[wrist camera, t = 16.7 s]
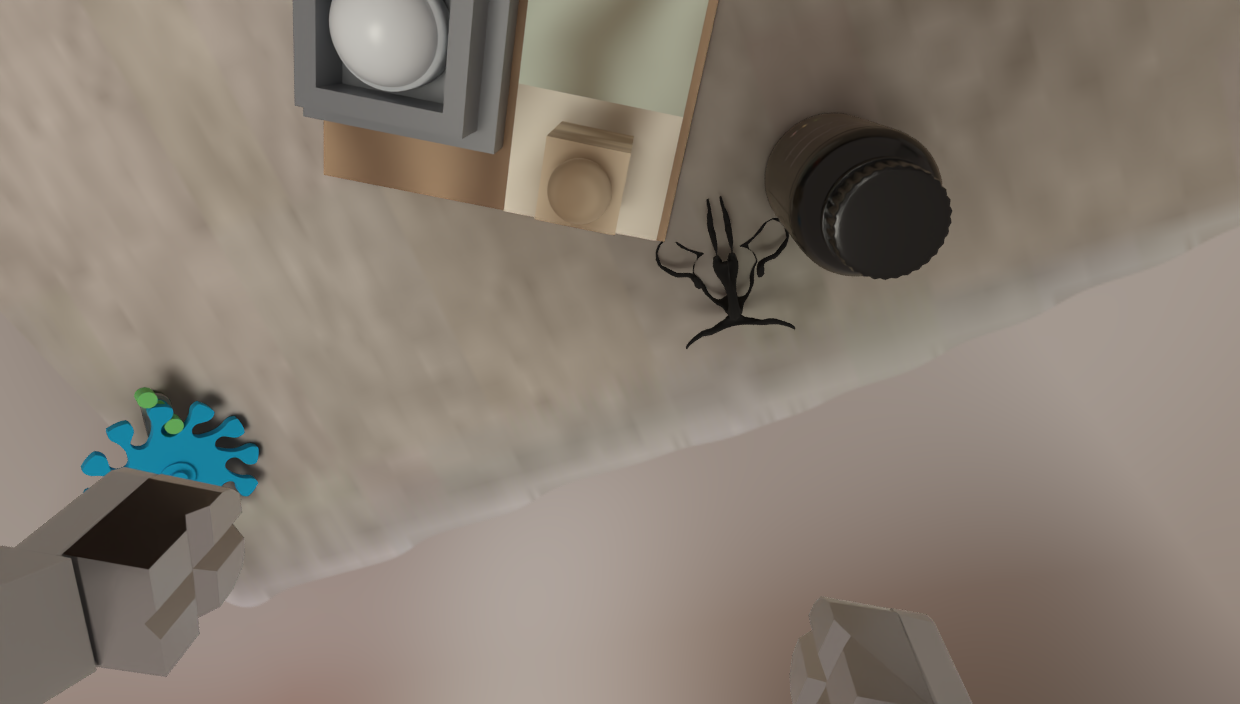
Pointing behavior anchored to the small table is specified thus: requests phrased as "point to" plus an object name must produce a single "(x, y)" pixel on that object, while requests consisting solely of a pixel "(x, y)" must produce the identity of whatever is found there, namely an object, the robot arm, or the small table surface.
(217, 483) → the blue lobed plastic figure
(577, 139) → the pawn
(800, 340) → the small table surface
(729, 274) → the creature
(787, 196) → the supplement bottle
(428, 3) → the dome
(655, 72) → the board
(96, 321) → the small table surface
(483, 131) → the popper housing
